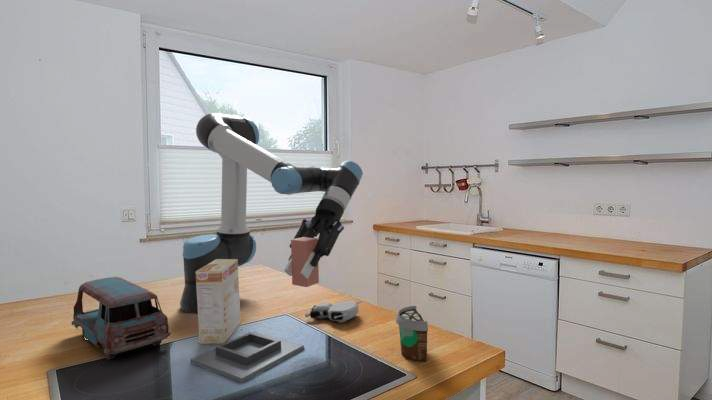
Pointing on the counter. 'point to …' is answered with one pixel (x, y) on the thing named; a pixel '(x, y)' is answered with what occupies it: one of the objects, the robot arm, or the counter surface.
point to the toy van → (120, 316)
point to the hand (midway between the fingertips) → (295, 274)
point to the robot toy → (335, 311)
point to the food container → (412, 334)
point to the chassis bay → (246, 355)
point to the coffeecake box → (218, 300)
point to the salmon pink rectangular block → (303, 261)
